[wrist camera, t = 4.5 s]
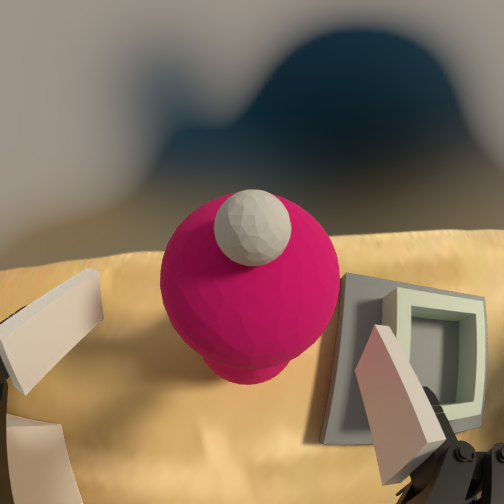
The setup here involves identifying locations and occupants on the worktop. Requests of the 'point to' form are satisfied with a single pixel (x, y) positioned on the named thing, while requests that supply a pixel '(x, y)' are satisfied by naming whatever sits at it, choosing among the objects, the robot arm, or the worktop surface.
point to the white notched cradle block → (39, 463)
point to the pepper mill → (249, 283)
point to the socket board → (408, 351)
